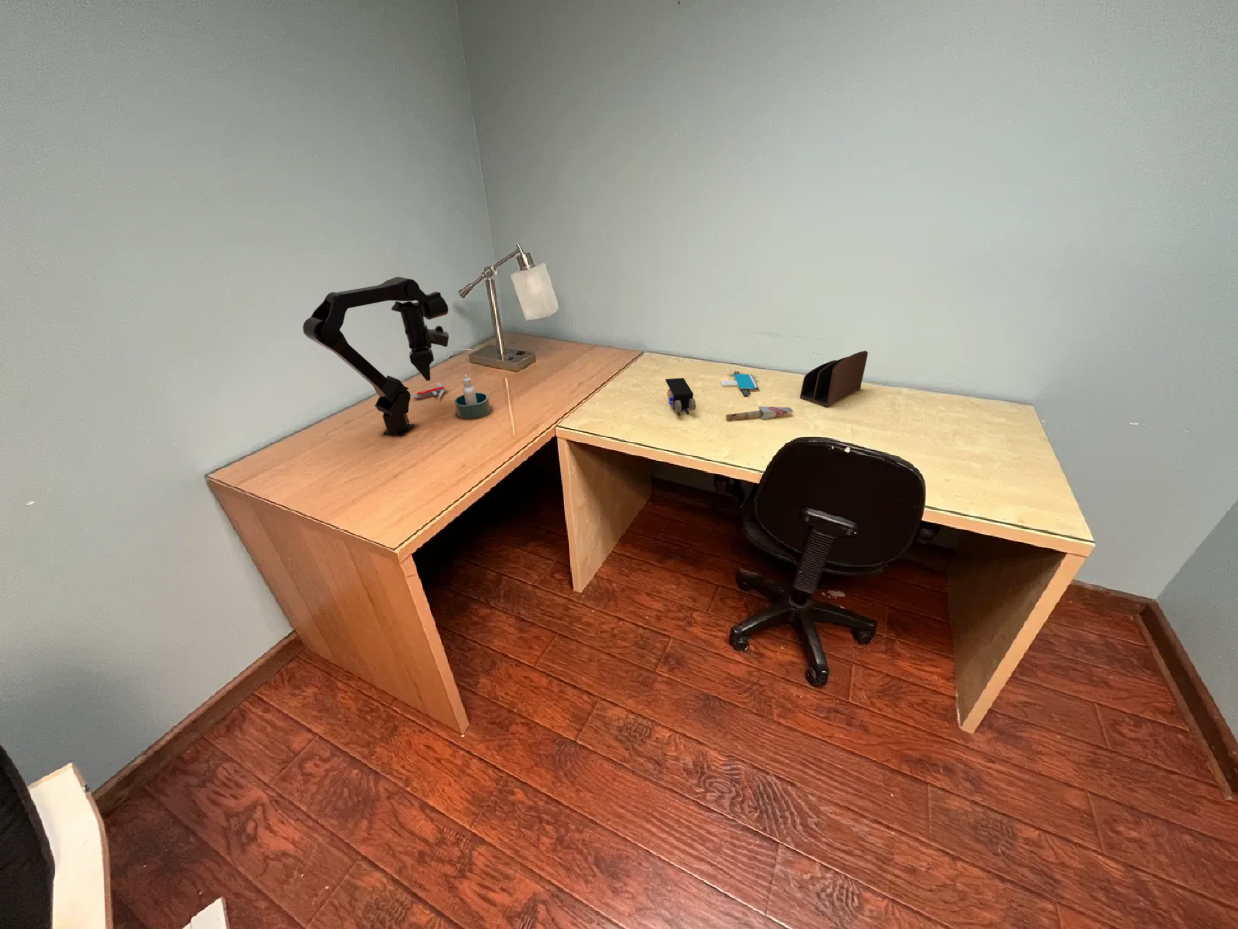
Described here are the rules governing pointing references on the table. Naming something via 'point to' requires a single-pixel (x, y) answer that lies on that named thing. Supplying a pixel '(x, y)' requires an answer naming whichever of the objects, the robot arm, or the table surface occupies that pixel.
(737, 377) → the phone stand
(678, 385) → the black block with wheels
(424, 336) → the robot arm
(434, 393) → the swiss army knife
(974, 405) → the table surface
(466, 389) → the eye dropper bottle
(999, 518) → the table surface
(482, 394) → the teal bowl
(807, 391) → the letter holder
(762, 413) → the paintbrush
